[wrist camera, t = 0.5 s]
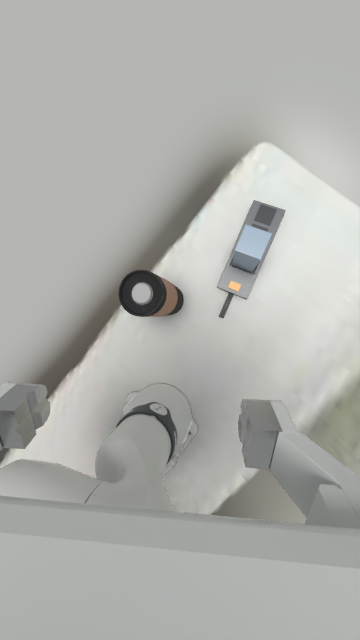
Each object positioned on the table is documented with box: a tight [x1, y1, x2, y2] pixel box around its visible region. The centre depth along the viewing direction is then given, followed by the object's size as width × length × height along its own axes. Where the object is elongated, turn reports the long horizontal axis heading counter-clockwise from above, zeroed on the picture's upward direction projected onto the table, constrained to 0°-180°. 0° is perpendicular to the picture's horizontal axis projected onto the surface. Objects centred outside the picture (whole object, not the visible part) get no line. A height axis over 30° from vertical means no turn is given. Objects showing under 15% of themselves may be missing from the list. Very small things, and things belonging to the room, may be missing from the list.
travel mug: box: [119, 270, 183, 317], centre depth 47 cm, size 8×8×20 cm
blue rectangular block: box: [232, 225, 272, 273], centre depth 47 cm, size 5×5×14 cm
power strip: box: [217, 200, 286, 318], centre depth 52 cm, size 26×7×2 cm, turn 157°
